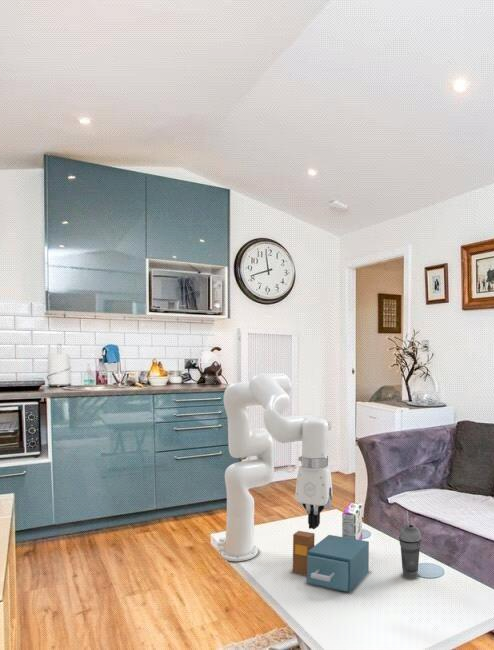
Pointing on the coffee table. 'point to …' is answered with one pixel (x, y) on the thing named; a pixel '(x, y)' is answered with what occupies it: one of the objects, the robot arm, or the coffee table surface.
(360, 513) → the candy bar box
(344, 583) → the drawer
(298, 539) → the brown rectangular box
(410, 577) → the beverage cup
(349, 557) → the cabinet
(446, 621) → the coffee table surface
